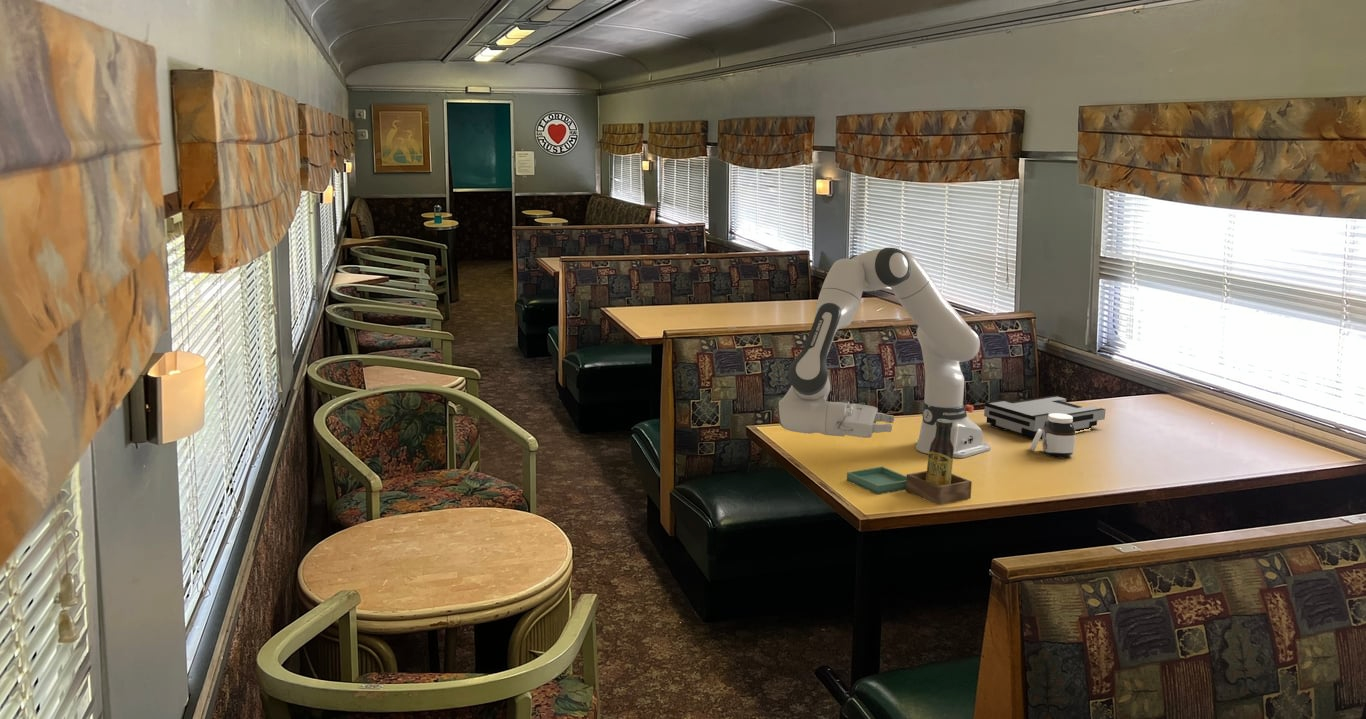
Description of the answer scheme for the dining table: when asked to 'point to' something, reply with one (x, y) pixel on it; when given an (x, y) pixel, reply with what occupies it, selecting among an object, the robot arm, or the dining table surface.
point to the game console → (1038, 414)
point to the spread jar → (1056, 436)
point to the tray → (878, 480)
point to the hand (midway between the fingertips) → (892, 423)
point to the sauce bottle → (941, 455)
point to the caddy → (938, 488)
